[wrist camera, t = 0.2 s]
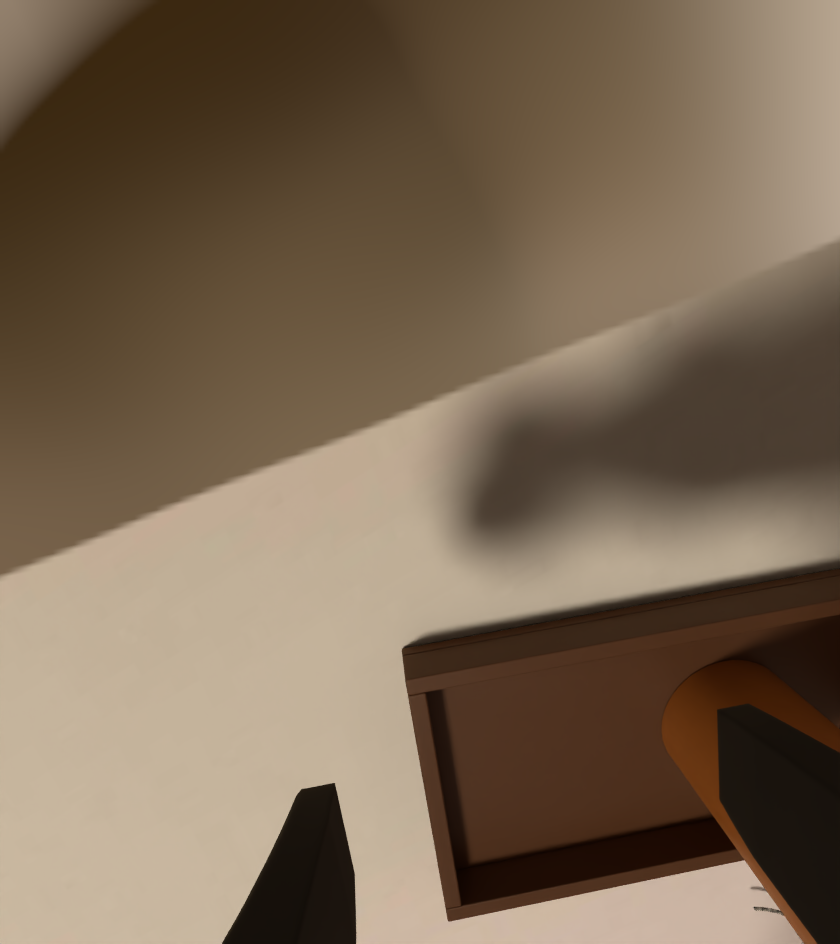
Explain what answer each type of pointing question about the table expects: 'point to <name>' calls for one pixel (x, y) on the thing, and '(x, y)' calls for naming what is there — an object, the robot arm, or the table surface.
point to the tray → (594, 738)
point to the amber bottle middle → (697, 739)
